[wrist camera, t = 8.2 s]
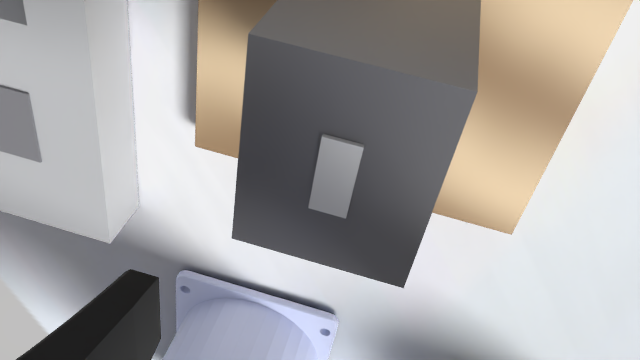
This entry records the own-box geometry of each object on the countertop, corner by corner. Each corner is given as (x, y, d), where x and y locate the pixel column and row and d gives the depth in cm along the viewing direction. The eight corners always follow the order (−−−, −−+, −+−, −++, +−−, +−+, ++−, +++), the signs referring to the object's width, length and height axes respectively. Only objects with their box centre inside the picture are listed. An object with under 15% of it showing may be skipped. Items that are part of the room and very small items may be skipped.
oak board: (510, 216, 21) (511, 234, 20) (205, 132, 22) (195, 146, 21) (695, -150, 13) (708, -144, 13) (219, -251, 15) (204, -251, 14)
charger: (431, 120, 18) (403, 291, 12) (311, 89, 19) (230, 241, 13) (482, -36, 15) (477, 94, 9) (338, -70, 15) (246, 35, 10)
